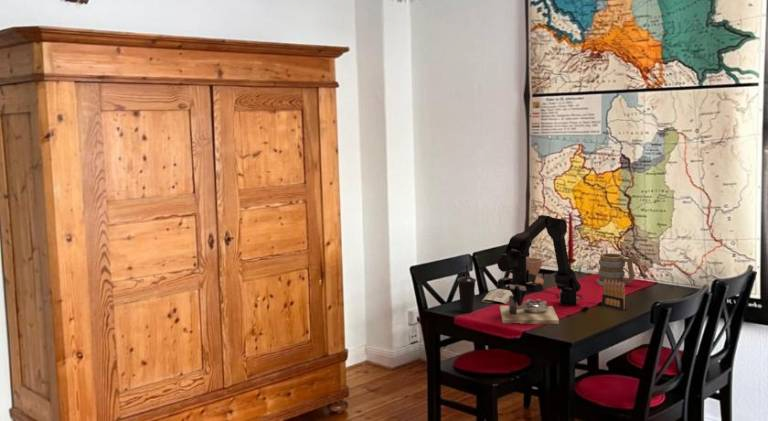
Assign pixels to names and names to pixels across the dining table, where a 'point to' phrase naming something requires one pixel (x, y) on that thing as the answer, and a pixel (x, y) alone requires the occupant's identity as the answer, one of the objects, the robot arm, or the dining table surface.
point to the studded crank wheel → (527, 306)
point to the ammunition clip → (614, 295)
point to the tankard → (615, 268)
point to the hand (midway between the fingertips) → (519, 305)
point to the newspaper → (498, 296)
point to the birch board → (529, 316)
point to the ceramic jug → (534, 268)
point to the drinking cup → (466, 292)
